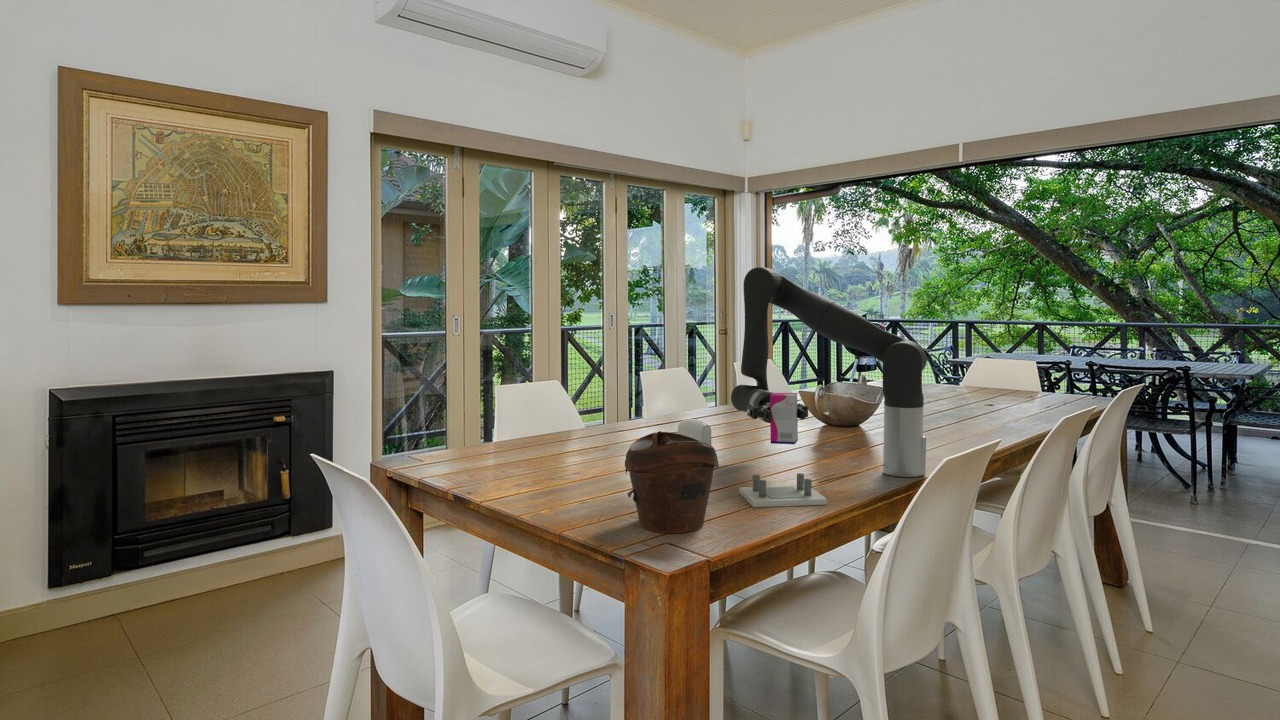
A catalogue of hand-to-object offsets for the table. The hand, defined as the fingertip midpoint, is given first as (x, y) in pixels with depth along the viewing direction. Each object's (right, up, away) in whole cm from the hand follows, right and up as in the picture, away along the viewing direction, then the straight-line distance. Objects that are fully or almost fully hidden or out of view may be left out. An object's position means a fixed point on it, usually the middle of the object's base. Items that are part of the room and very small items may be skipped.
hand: (786, 415), depth 168 cm
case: (-28, -19, -27) cm, 43 cm away
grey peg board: (-3, -17, -9) cm, 20 cm away
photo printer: (-20, -15, +24) cm, 35 cm away
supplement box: (0, -7, +3) cm, 7 cm away
